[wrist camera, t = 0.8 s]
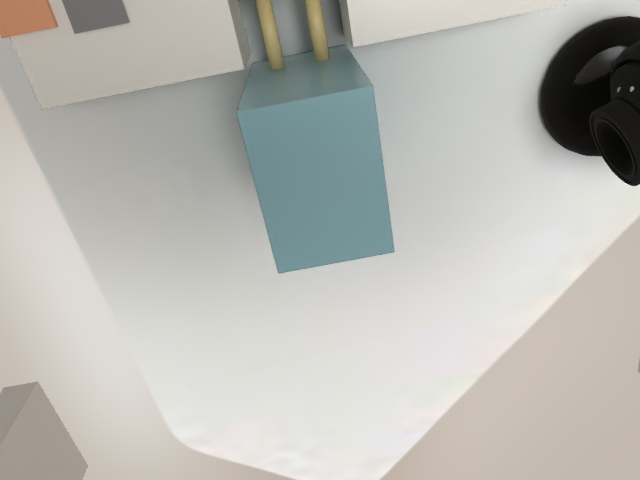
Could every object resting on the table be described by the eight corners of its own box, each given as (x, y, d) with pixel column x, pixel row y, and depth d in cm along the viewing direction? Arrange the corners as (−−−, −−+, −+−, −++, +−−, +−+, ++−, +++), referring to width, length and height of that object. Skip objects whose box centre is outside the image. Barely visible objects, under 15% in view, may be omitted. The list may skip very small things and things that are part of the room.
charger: (237, -3, 26) (211, 18, 17) (335, -23, 26) (360, -13, 17) (281, 186, 31) (279, 276, 22) (364, 170, 31) (395, 255, 22)
